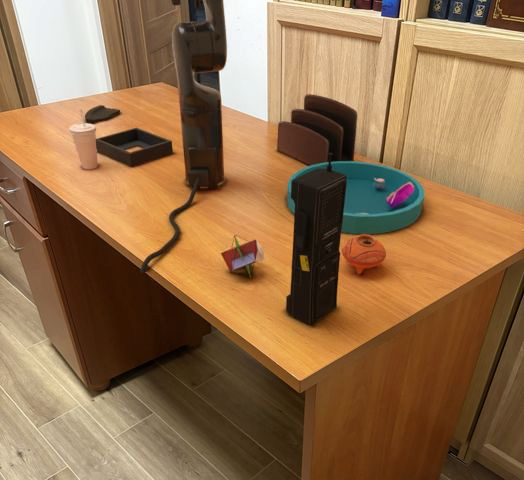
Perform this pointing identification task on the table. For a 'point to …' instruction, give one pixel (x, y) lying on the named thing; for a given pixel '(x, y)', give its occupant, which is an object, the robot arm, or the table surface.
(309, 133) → the letter holder
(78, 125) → the smoothie
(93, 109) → the curved wedge
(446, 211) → the table surface
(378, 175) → the round teal tray
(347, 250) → the pot
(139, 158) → the dark grey rectangular frame
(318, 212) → the portable radio
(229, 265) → the geometric puzzle
